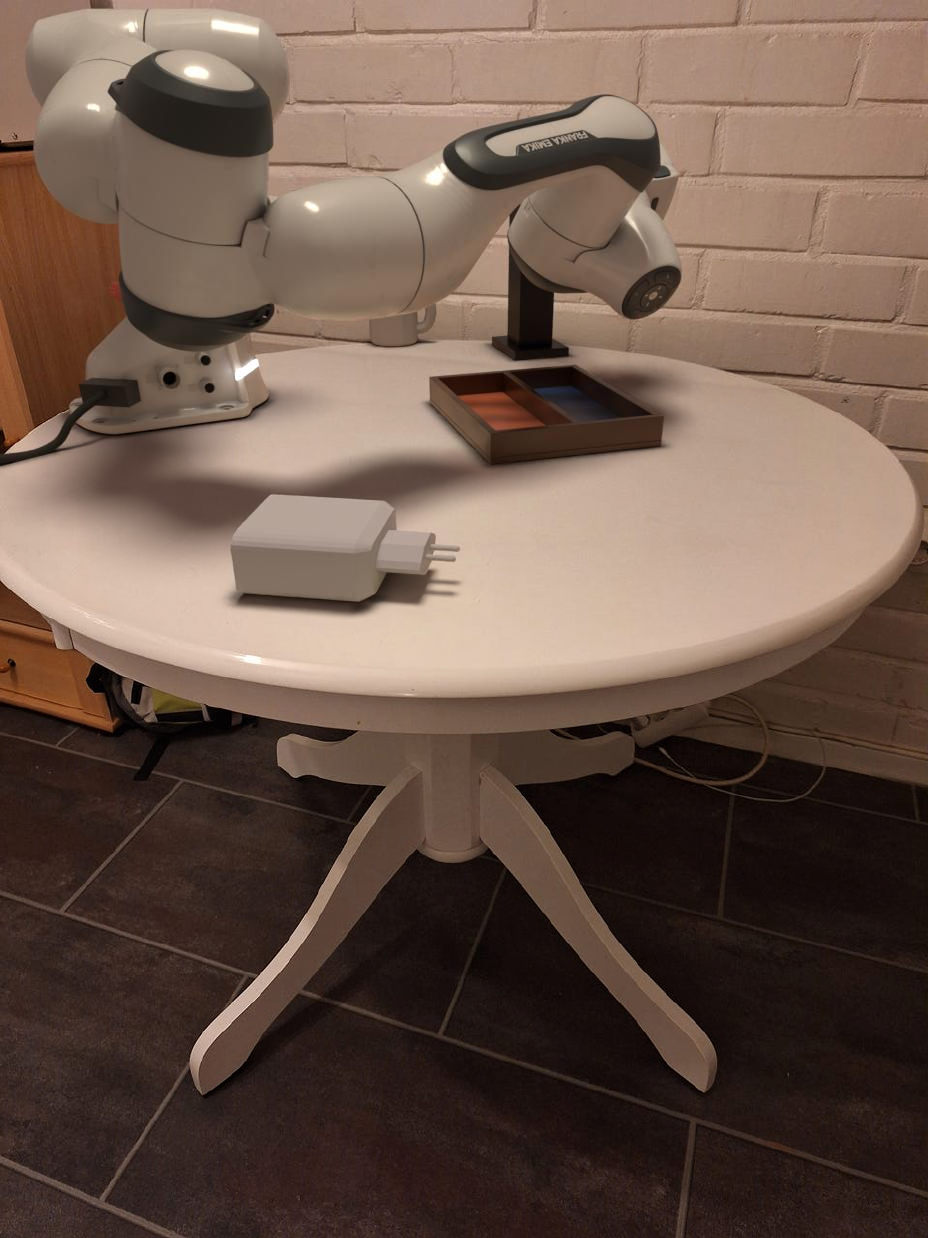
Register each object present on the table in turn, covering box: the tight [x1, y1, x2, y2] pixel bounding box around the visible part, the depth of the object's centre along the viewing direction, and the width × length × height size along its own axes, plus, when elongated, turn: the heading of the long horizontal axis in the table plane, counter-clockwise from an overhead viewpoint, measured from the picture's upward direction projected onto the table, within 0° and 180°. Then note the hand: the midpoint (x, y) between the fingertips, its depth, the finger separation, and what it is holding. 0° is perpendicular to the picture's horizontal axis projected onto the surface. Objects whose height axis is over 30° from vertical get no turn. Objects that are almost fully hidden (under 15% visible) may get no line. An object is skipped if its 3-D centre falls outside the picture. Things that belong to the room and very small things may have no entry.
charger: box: [230, 493, 461, 602], centre depth 66 cm, size 5×9×15 cm
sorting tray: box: [428, 364, 665, 465], centre depth 99 cm, size 23×18×3 cm
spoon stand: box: [491, 204, 570, 361], centre depth 124 cm, size 10×8×26 cm
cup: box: [368, 303, 437, 348], centre depth 133 cm, size 7×10×9 cm
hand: (564, 130), depth 108 cm, fingers closed
